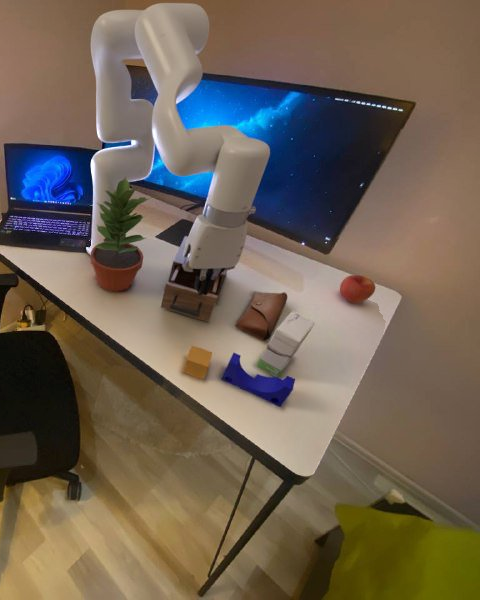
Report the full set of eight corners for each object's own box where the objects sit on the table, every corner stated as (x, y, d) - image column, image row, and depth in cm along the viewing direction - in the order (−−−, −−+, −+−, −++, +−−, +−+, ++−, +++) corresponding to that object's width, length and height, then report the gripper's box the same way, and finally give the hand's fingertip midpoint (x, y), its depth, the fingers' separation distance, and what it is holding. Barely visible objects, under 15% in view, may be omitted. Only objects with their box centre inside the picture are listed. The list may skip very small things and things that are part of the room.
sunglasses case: (253, 289, 97) (273, 278, 92) (270, 307, 97) (292, 297, 92) (233, 326, 86) (255, 315, 81) (252, 347, 86) (276, 337, 81)
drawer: (205, 334, 84) (214, 311, 78) (155, 319, 87) (160, 295, 82) (216, 291, 96) (225, 268, 91) (172, 279, 100) (178, 256, 95)
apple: (368, 300, 96) (385, 277, 90) (359, 312, 92) (376, 288, 87) (339, 287, 100) (354, 264, 95) (329, 298, 96) (344, 275, 91)
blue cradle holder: (284, 391, 73) (296, 374, 69) (280, 407, 70) (292, 389, 66) (227, 365, 78) (235, 347, 74) (221, 379, 75) (229, 361, 71)
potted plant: (109, 259, 109) (118, 162, 89) (149, 280, 101) (168, 179, 81) (76, 279, 101) (77, 178, 81) (116, 304, 93) (128, 198, 73)
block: (186, 358, 79) (191, 345, 76) (206, 365, 78) (212, 352, 75) (182, 372, 76) (187, 359, 73) (203, 380, 75) (208, 367, 72)
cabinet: (215, 303, 94) (226, 275, 87) (166, 289, 98) (173, 261, 92) (223, 274, 104) (233, 247, 97) (178, 262, 108) (185, 235, 102)
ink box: (277, 378, 75) (300, 342, 68) (255, 365, 78) (275, 329, 70) (292, 357, 80) (316, 321, 72) (271, 346, 82) (292, 309, 75)
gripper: (255, 202, 66) (227, 279, 78) (179, 204, 65) (162, 281, 77) (275, 222, 60) (241, 301, 72) (191, 224, 59) (171, 303, 71)
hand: (200, 290), depth 75 cm, fingers closed
